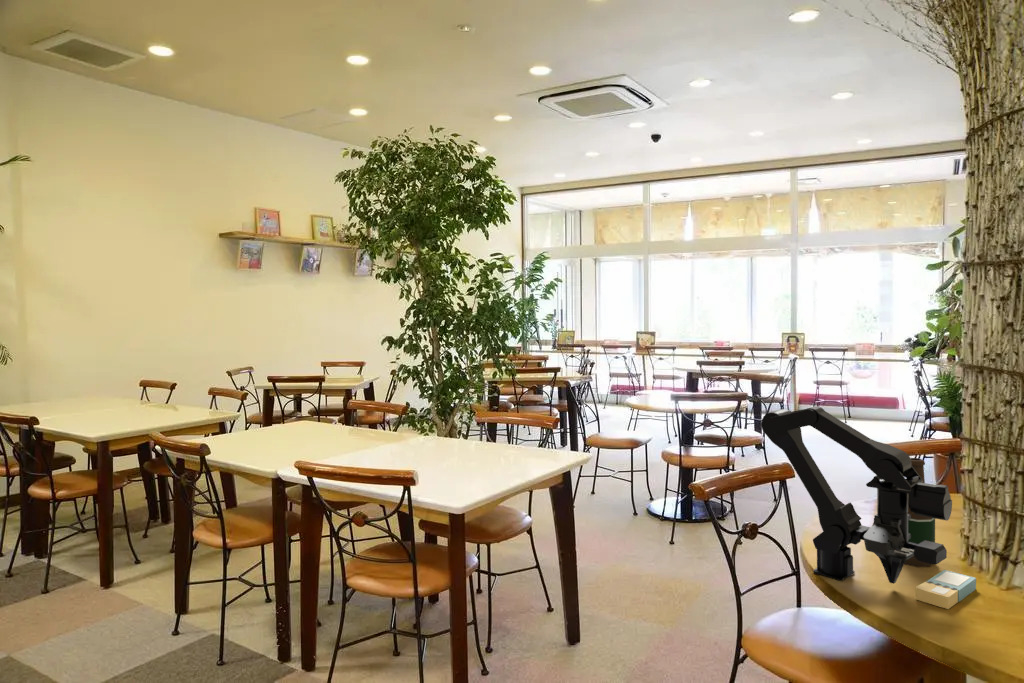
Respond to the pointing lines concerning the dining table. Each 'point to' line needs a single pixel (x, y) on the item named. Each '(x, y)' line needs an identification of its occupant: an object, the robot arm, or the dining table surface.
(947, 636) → the dining table surface
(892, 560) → the robot arm
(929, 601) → the stub
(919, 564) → the beer bottle
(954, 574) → the pale blue pin-sided card
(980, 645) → the dining table surface
